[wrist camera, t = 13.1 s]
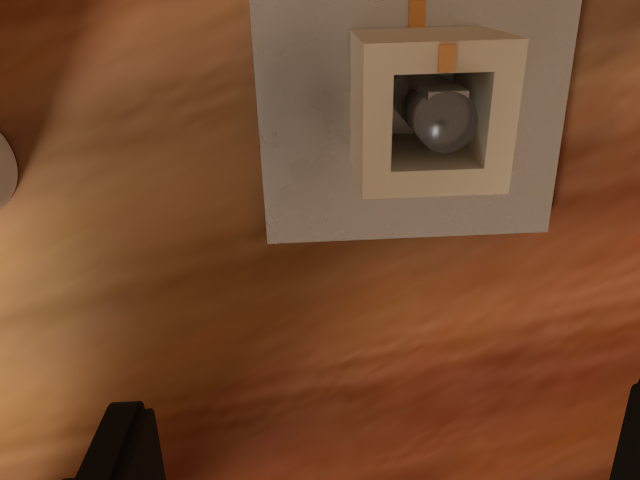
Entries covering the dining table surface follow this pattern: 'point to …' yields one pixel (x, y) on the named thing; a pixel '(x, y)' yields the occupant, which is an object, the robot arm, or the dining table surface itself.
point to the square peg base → (398, 117)
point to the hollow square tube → (407, 149)
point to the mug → (7, 171)
